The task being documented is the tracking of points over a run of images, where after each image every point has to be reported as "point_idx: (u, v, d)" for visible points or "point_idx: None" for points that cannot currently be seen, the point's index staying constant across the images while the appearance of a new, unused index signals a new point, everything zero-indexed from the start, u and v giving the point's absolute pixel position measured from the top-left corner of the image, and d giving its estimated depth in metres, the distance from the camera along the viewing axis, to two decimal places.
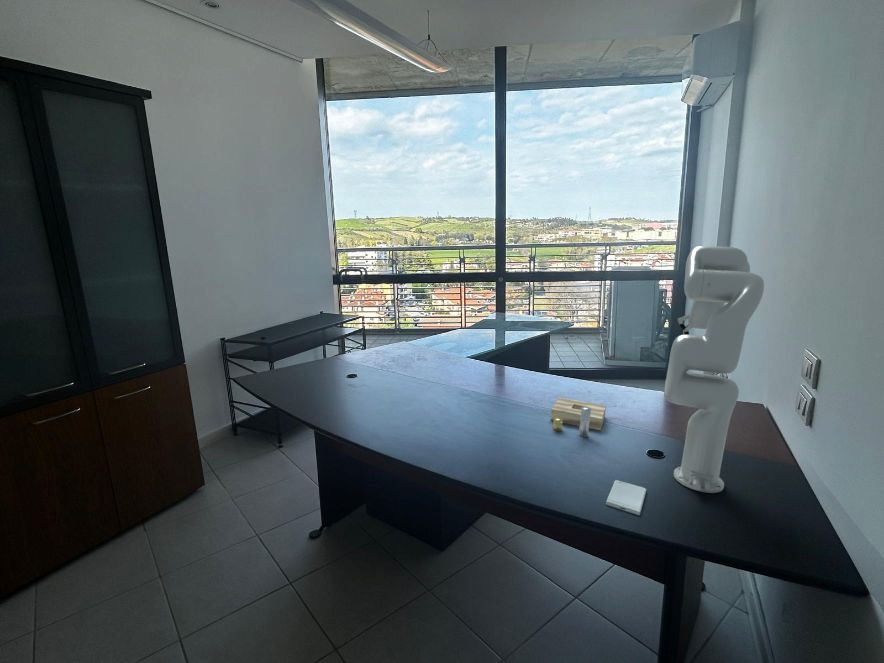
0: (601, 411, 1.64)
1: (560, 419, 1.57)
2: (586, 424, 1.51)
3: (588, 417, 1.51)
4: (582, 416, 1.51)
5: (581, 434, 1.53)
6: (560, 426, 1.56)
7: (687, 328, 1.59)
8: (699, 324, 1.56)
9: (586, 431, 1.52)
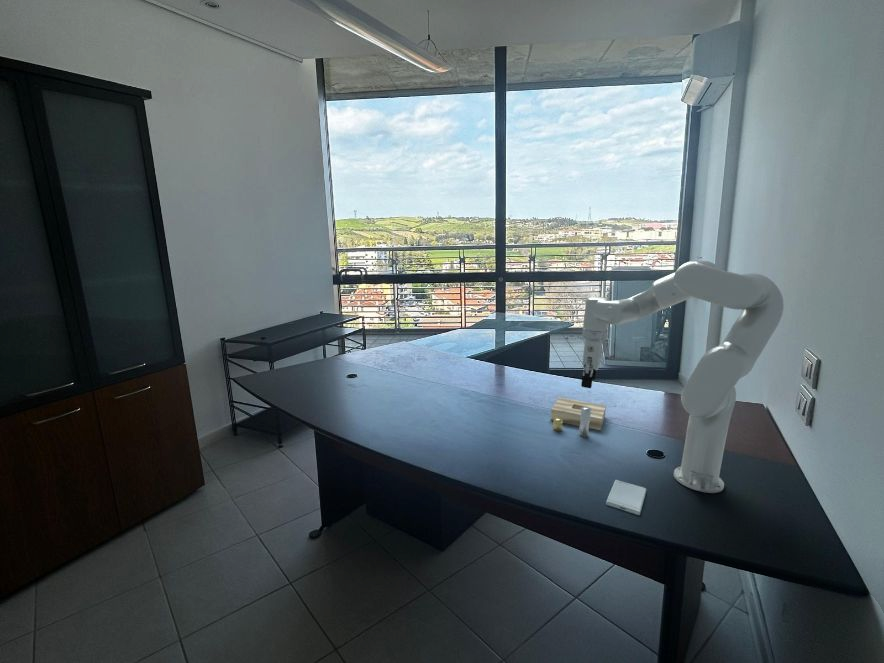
0: (601, 411, 1.64)
1: (560, 419, 1.57)
2: (586, 424, 1.51)
3: (588, 417, 1.51)
4: (582, 416, 1.51)
5: (581, 434, 1.53)
6: (560, 426, 1.56)
7: (592, 373, 1.44)
8: (598, 365, 1.45)
9: (586, 431, 1.52)
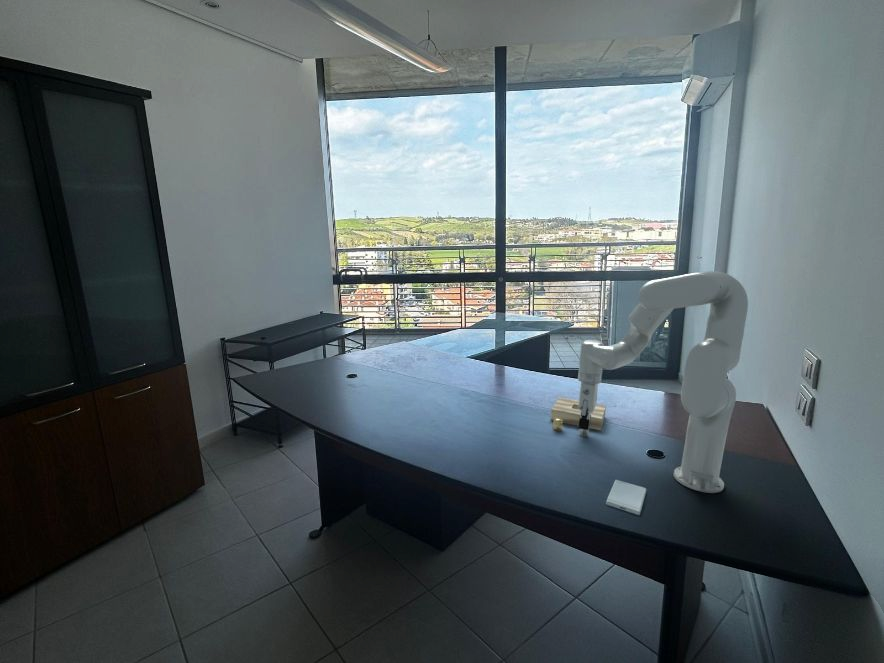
0: (601, 411, 1.64)
1: (560, 419, 1.57)
2: None
3: None
4: None
5: (581, 434, 1.53)
6: (560, 426, 1.56)
7: (588, 415, 1.50)
8: (594, 407, 1.49)
9: (586, 431, 1.52)
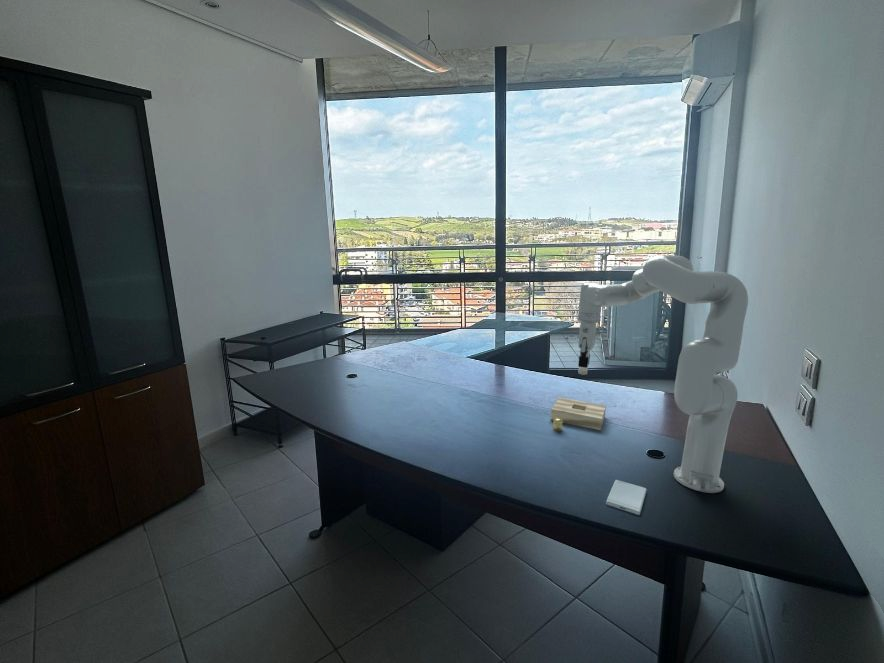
0: (601, 411, 1.64)
1: (560, 419, 1.57)
2: None
3: None
4: None
5: (580, 372, 1.62)
6: (560, 426, 1.56)
7: (587, 353, 1.59)
8: (593, 345, 1.58)
9: (585, 369, 1.62)
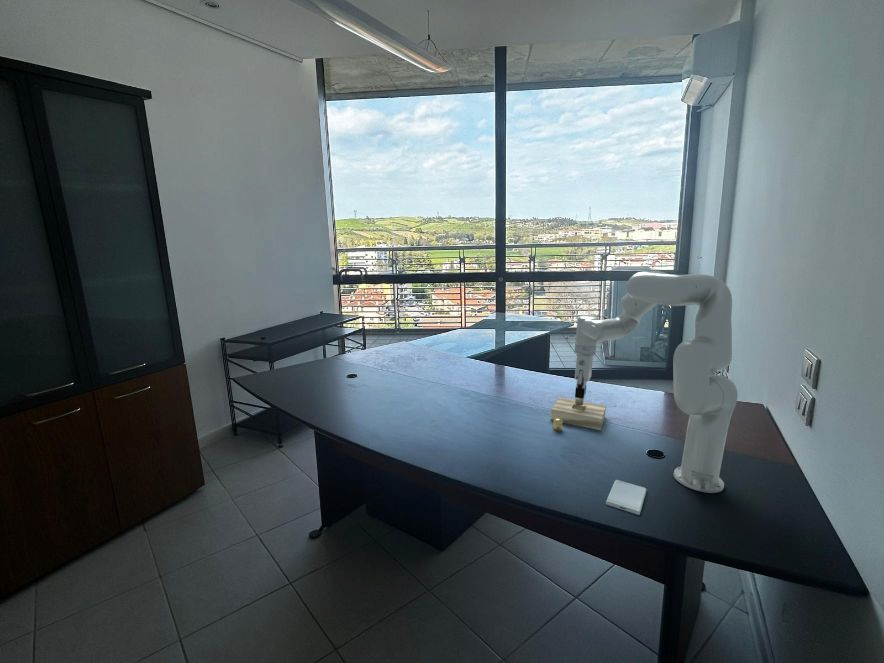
0: (601, 411, 1.64)
1: (560, 419, 1.57)
2: None
3: (584, 386, 1.64)
4: None
5: (577, 402, 1.65)
6: (560, 426, 1.56)
7: None
8: (589, 377, 1.61)
9: (581, 400, 1.65)
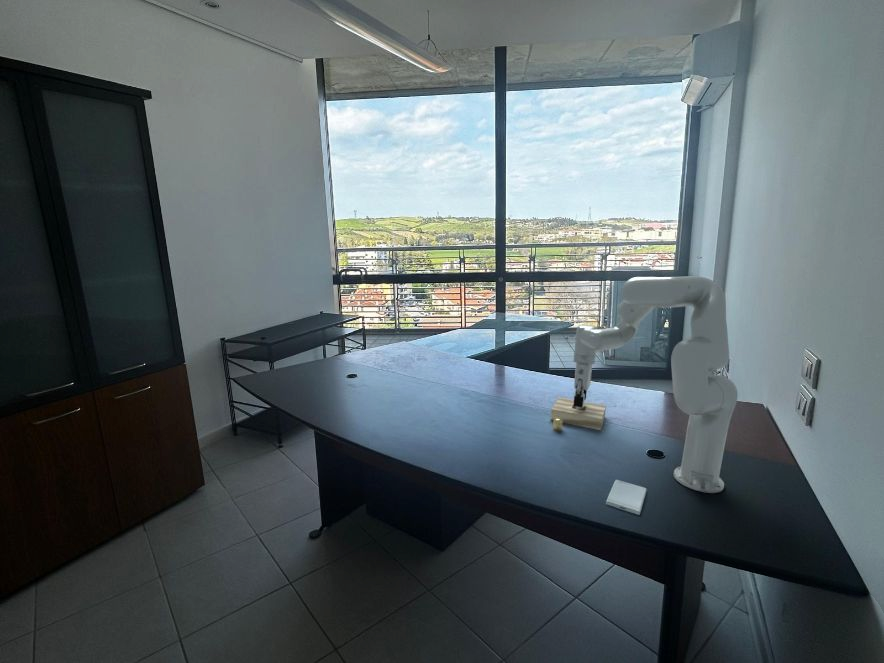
0: (601, 411, 1.64)
1: (560, 419, 1.57)
2: (580, 408, 1.65)
3: None
4: None
5: None
6: (560, 426, 1.56)
7: (582, 393, 1.61)
8: (588, 386, 1.62)
9: None
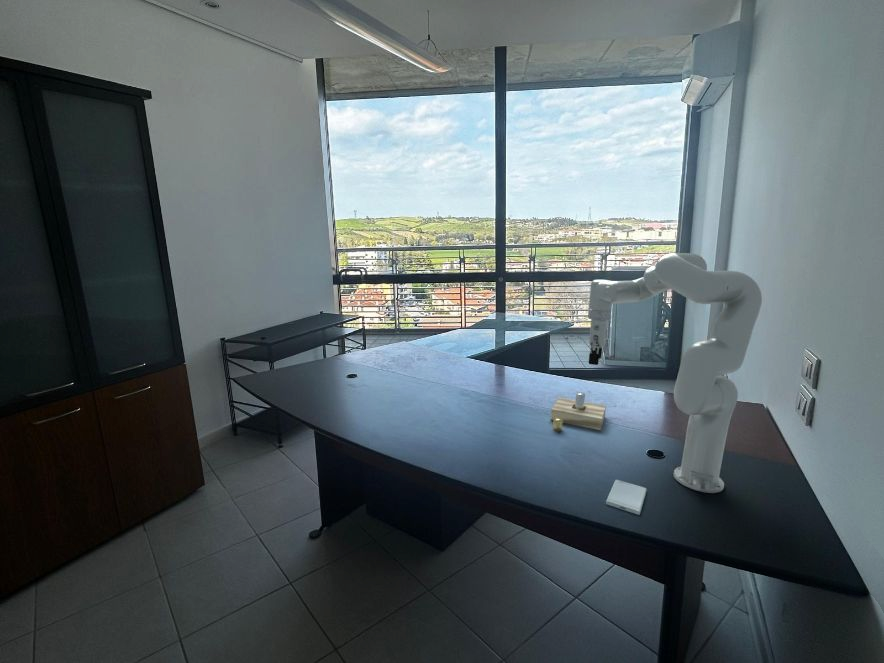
0: (601, 411, 1.64)
1: (560, 419, 1.57)
2: (580, 408, 1.65)
3: (582, 402, 1.65)
4: (577, 401, 1.65)
5: None
6: (560, 426, 1.56)
7: (598, 350, 1.53)
8: (604, 343, 1.55)
9: None
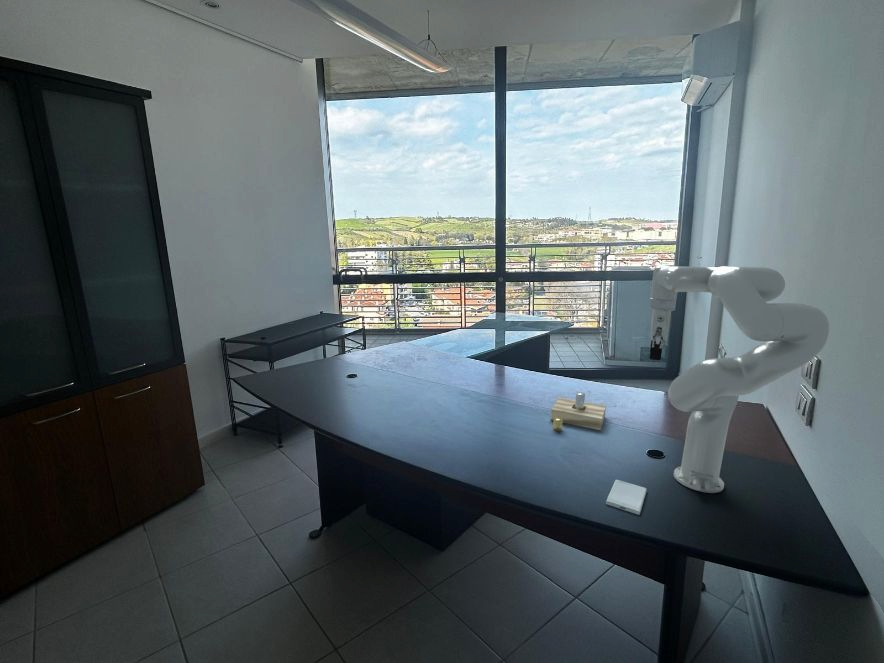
0: (601, 411, 1.64)
1: (560, 419, 1.57)
2: (580, 408, 1.65)
3: (582, 402, 1.65)
4: (577, 401, 1.65)
5: None
6: (560, 426, 1.56)
7: (661, 344, 1.38)
8: None
9: None
